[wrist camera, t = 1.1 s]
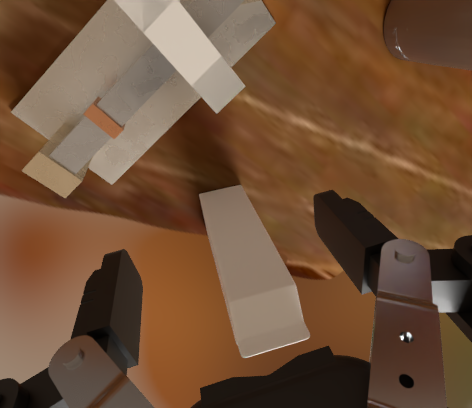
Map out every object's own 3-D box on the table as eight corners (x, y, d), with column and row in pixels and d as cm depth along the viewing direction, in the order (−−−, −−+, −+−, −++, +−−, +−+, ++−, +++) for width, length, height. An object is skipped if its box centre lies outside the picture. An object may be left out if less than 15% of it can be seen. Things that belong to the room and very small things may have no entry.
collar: (144, -25, 26) (140, -48, 17) (220, 69, 31) (245, 86, 23) (121, 2, 26) (106, -8, 18) (199, 89, 31) (216, 113, 23)
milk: (198, 193, 40) (235, 335, 22) (241, 183, 41) (312, 313, 23) (206, 229, 43) (244, 378, 25) (246, 219, 44) (311, 357, 26)
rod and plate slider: (196, -102, 25) (212, -150, 18) (274, 23, 32) (309, 23, 25) (12, 111, 30) (-31, 138, 23) (112, 183, 37) (102, 221, 29)
